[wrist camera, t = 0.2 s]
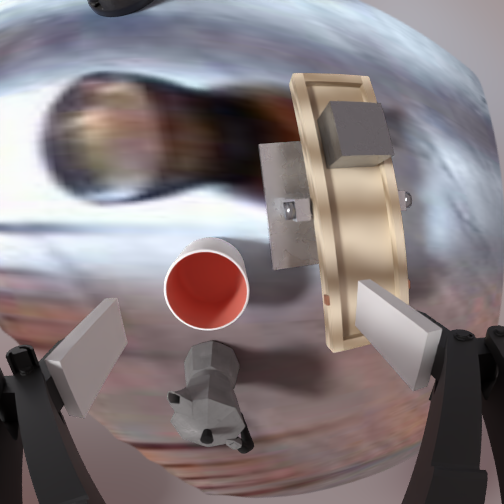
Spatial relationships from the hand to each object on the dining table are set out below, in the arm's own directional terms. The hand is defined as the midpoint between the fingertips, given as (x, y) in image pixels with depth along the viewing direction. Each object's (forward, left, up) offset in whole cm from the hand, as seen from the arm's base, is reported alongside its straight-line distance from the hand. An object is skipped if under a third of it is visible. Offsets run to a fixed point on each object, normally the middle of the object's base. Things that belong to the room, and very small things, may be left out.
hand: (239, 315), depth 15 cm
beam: (-3, +14, -18) cm, 23 cm away
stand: (-3, +14, -28) cm, 32 cm away
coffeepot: (+22, -6, -28) cm, 36 cm away
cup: (+5, -4, -28) cm, 29 cm away
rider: (-11, +14, -18) cm, 25 cm away
